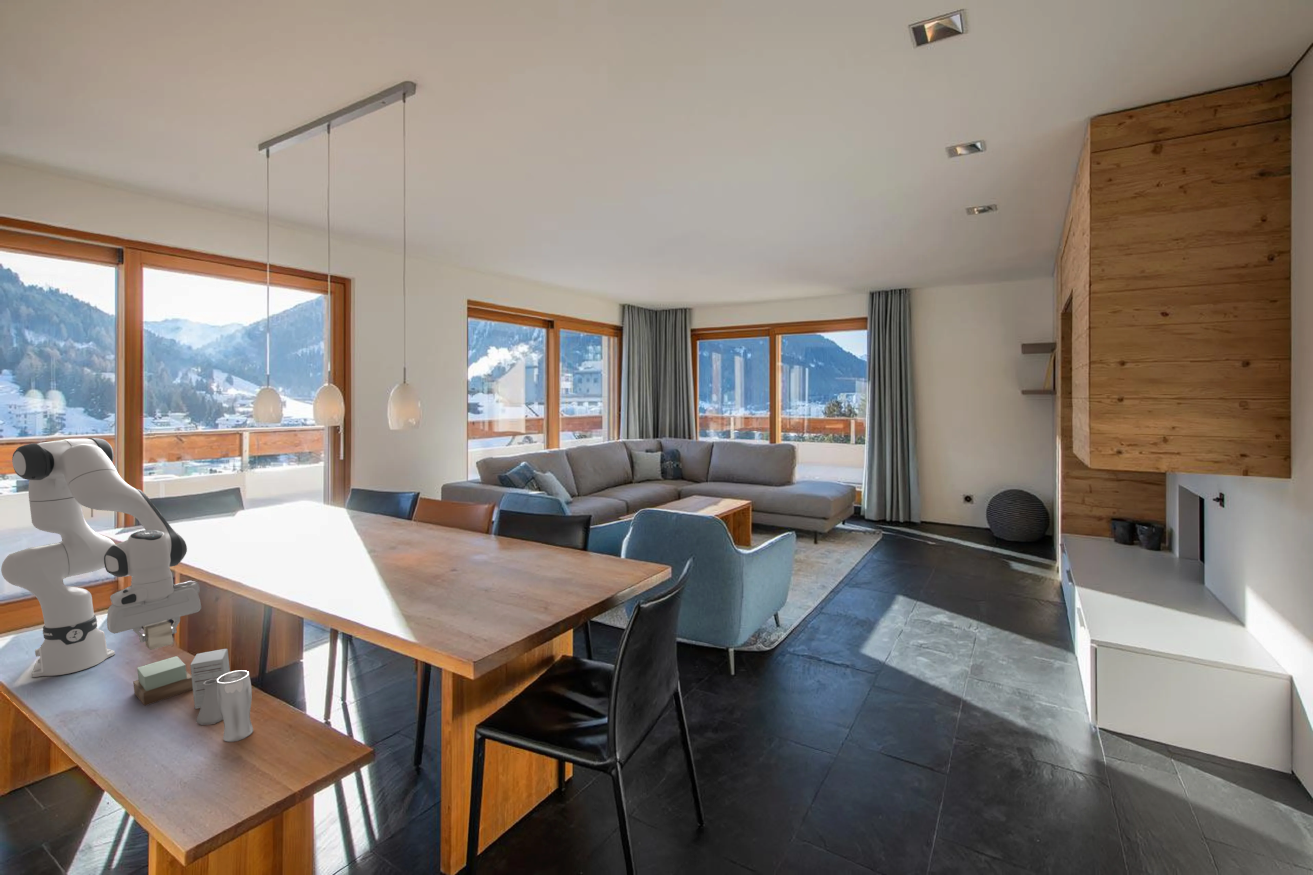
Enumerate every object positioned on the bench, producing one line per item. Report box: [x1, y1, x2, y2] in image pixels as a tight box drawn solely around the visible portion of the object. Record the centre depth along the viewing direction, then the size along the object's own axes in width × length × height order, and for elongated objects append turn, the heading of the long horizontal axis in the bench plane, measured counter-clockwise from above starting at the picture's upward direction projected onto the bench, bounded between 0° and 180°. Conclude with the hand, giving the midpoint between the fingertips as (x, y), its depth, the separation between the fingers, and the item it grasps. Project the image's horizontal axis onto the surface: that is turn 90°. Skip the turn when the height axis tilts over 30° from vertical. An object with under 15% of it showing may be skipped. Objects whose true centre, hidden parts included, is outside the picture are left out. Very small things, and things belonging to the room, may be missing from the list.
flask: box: [195, 678, 223, 726], centre depth 158 cm, size 7×7×10 cm
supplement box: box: [190, 648, 231, 710], centre depth 167 cm, size 7×7×13 cm
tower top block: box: [136, 655, 187, 691], centre depth 172 cm, size 9×9×4 cm
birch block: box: [142, 620, 174, 651], centre depth 170 cm, size 5×5×6 cm
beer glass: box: [217, 669, 254, 743], centre depth 149 cm, size 7×7×15 cm
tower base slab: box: [132, 670, 193, 707], centre depth 172 cm, size 11×11×4 cm
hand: (158, 637), depth 171 cm, fingers closed on birch block, 5 cm apart
